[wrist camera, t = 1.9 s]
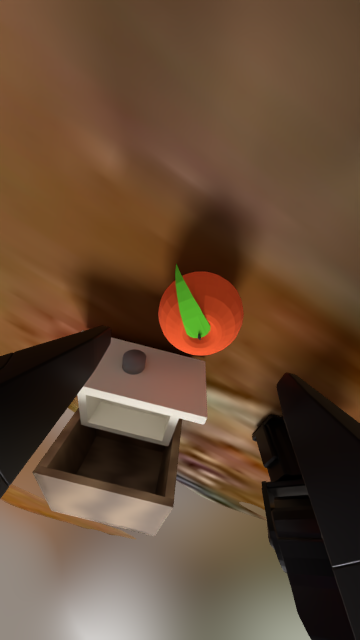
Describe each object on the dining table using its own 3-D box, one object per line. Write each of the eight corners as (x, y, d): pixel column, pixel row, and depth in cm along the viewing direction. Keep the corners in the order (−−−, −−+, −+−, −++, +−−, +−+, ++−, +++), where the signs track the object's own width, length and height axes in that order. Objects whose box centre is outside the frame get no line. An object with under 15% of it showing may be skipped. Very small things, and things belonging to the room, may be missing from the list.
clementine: (150, 271, 16) (117, 294, 10) (218, 240, 14) (233, 241, 8) (182, 336, 19) (173, 385, 13) (242, 317, 17) (267, 363, 11)
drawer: (208, 353, 19) (212, 408, 13) (181, 421, 25) (174, 479, 19) (82, 321, 19) (25, 361, 13) (87, 398, 25) (52, 448, 19)
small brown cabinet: (182, 413, 26) (173, 507, 17) (167, 452, 32) (154, 536, 23) (90, 390, 25) (32, 472, 17) (93, 433, 31) (51, 510, 23)
